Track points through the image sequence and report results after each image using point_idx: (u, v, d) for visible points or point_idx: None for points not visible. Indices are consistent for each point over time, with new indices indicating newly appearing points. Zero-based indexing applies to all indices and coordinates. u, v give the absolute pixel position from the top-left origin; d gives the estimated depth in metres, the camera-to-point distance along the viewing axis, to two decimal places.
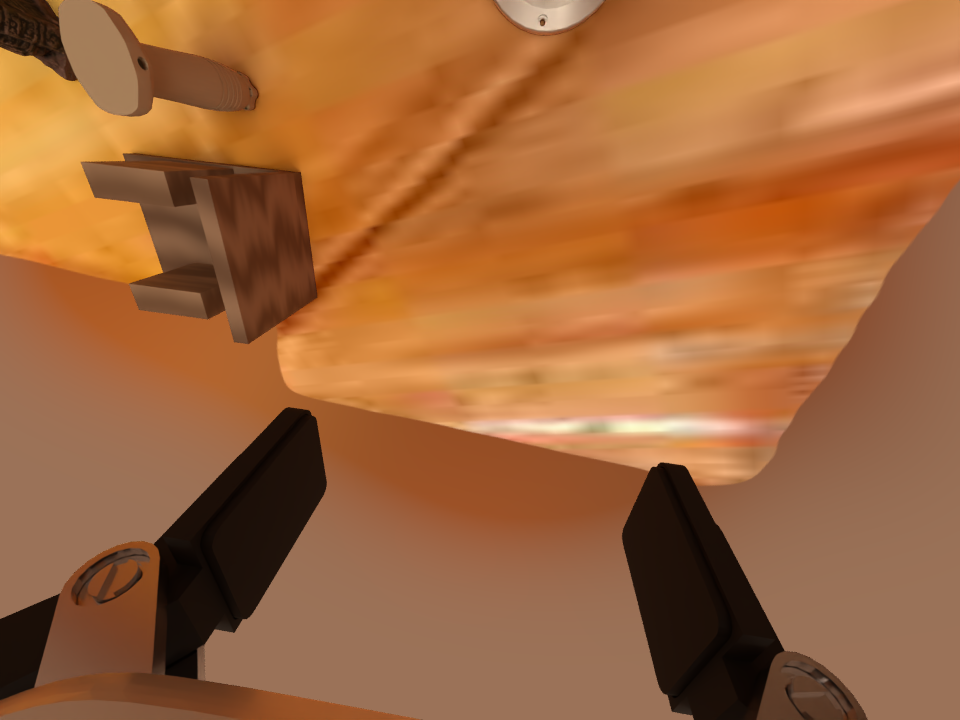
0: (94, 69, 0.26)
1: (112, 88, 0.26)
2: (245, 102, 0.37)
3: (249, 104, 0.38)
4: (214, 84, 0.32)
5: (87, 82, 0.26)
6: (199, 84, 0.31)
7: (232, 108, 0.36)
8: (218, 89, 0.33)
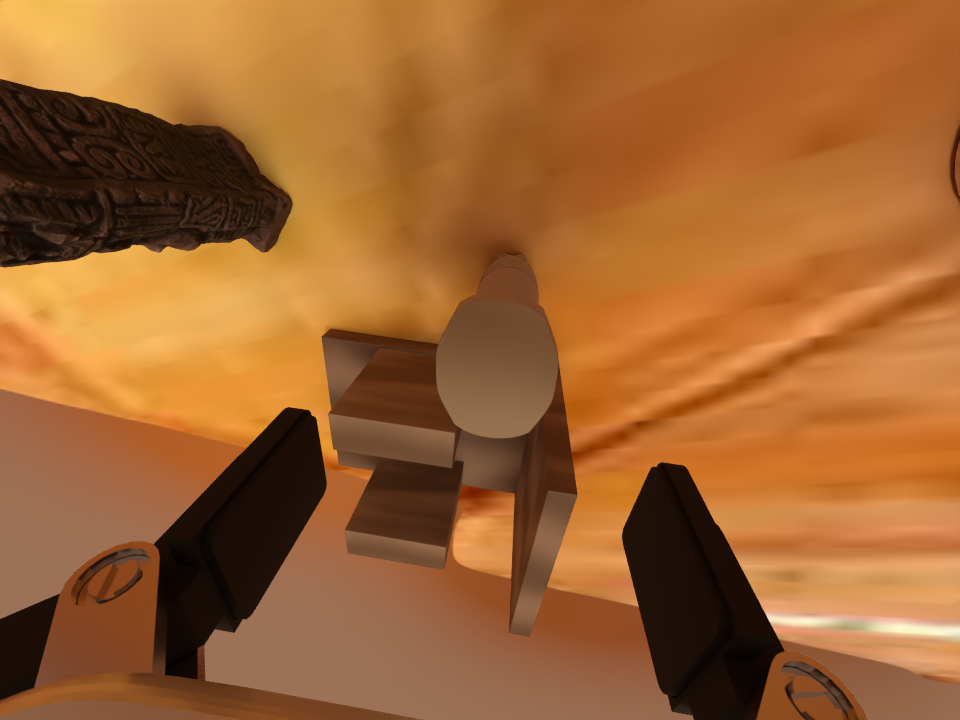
0: (477, 385, 0.15)
1: (497, 408, 0.15)
2: None
3: None
4: None
5: (454, 399, 0.15)
6: None
7: None
8: None
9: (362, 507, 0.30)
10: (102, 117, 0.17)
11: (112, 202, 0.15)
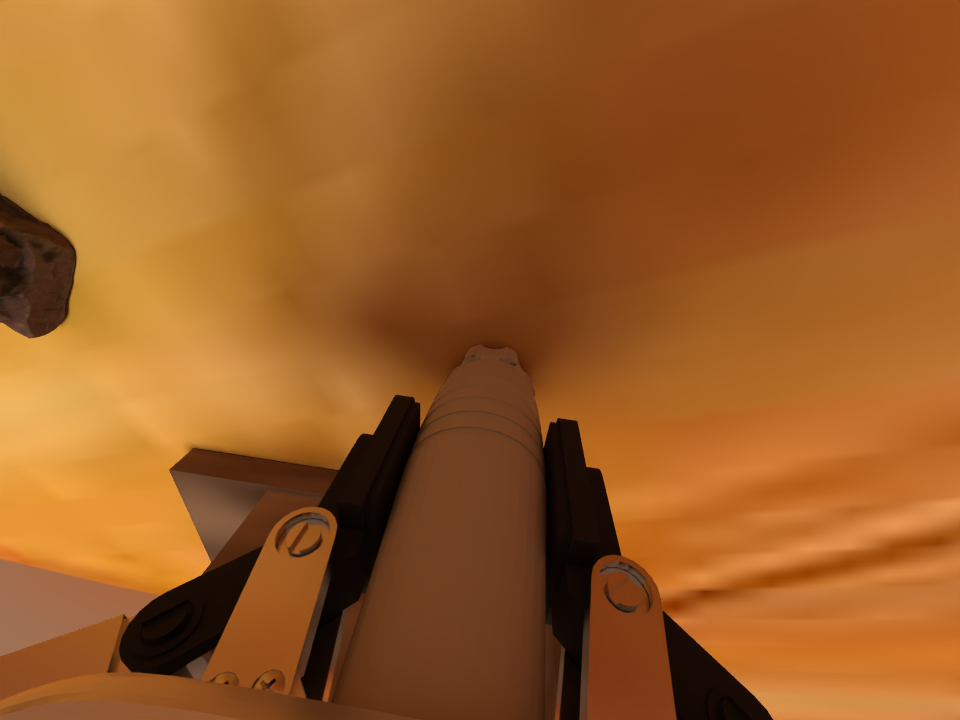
0: None
1: None
2: None
3: None
4: None
5: None
6: None
7: None
8: None
9: None
10: None
11: None
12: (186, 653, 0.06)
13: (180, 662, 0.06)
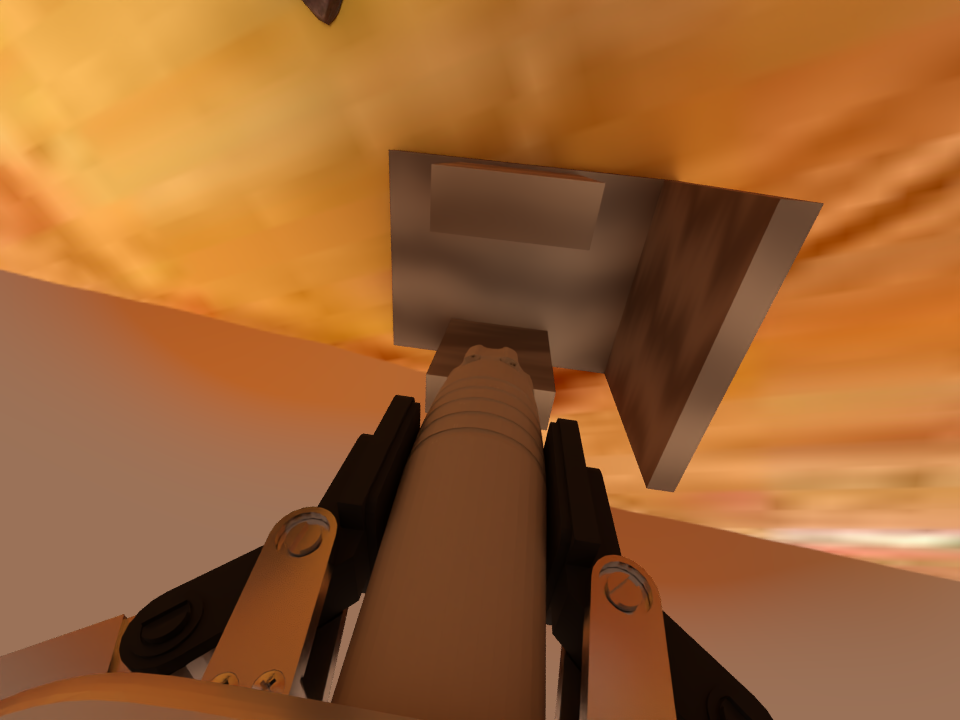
0: None
1: None
2: None
3: None
4: None
5: None
6: None
7: None
8: None
9: (441, 358, 0.24)
10: None
11: None
12: (186, 653, 0.06)
13: (180, 662, 0.06)
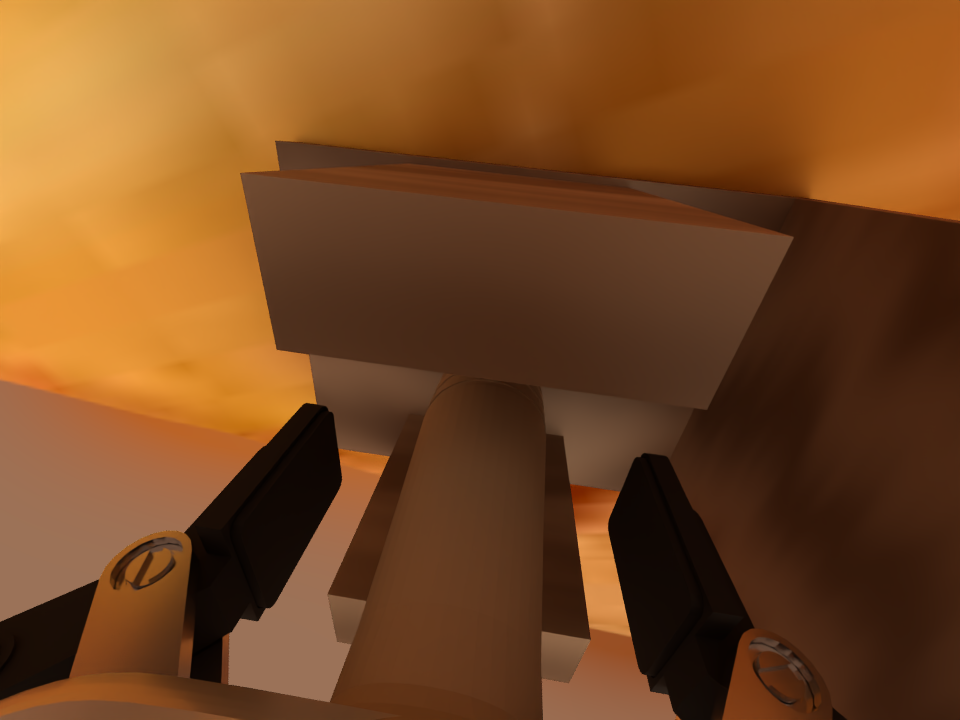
0: None
1: None
2: None
3: None
4: None
5: None
6: None
7: None
8: None
9: (370, 532, 0.13)
10: None
11: None
12: (4, 685, 0.05)
13: None
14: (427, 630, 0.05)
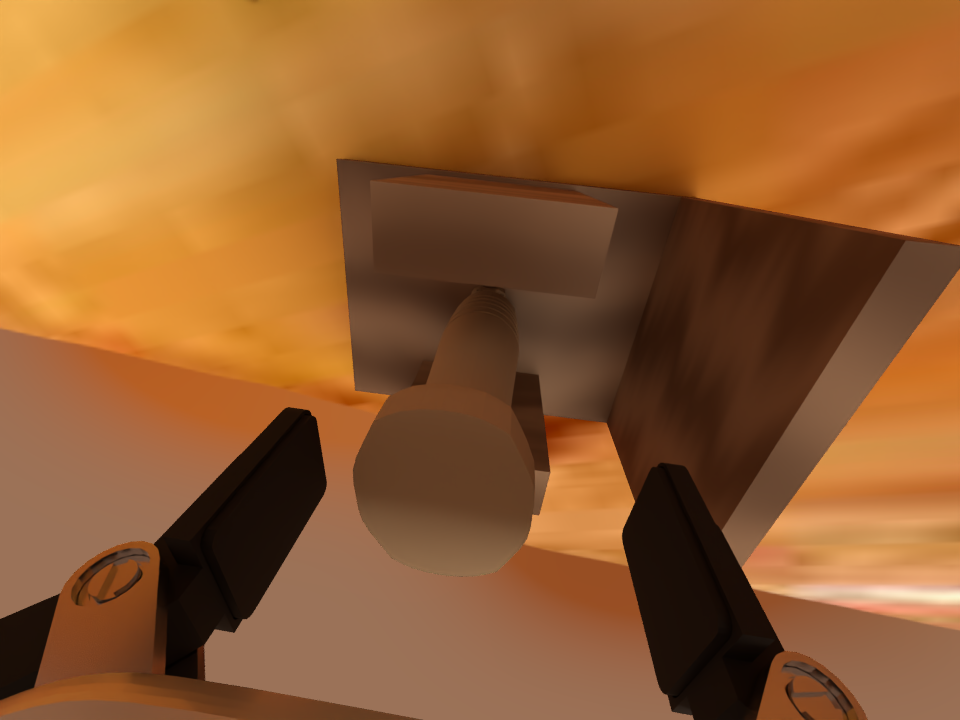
0: (417, 514, 0.10)
1: (449, 542, 0.11)
2: None
3: None
4: None
5: (387, 529, 0.11)
6: None
7: None
8: None
9: None
10: None
11: None
12: None
13: None
14: None
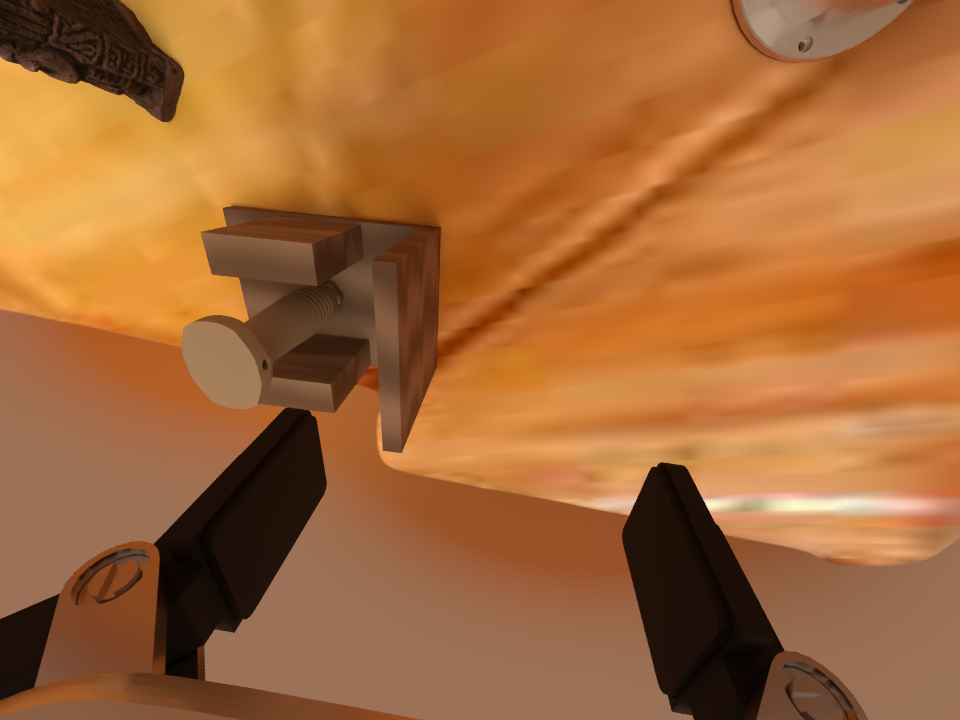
0: (214, 374, 0.24)
1: (232, 389, 0.24)
2: (333, 314, 0.35)
3: (335, 310, 0.36)
4: (313, 323, 0.31)
5: (204, 383, 0.24)
6: (302, 334, 0.29)
7: None
8: (316, 325, 0.31)
9: None
10: None
11: None
12: None
13: None
14: None
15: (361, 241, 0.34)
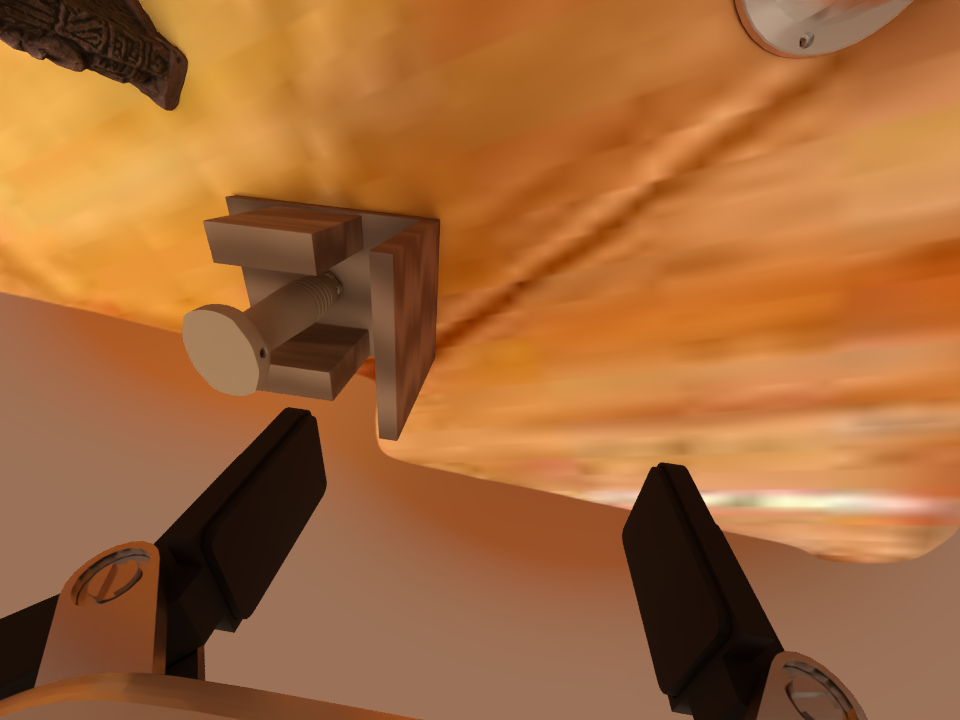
0: (213, 361, 0.24)
1: (231, 375, 0.25)
2: (333, 304, 0.35)
3: (334, 300, 0.36)
4: (312, 313, 0.31)
5: (204, 370, 0.25)
6: (301, 323, 0.30)
7: None
8: (315, 314, 0.32)
9: None
10: None
11: None
12: None
13: None
14: None
15: (361, 232, 0.34)
